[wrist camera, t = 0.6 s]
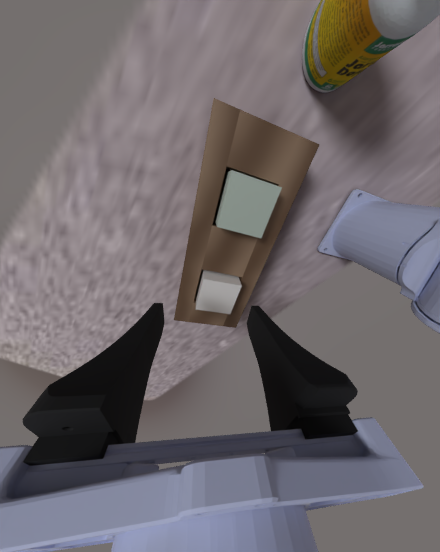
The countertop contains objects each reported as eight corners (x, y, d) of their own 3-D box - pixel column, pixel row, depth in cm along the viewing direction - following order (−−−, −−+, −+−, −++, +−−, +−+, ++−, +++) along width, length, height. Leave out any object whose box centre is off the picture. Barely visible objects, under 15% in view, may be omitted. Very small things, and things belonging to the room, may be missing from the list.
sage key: (268, 186, 15) (282, 187, 13) (252, 230, 18) (261, 238, 15) (226, 172, 15) (231, 170, 12) (214, 220, 17) (216, 226, 14)
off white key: (236, 272, 20) (241, 285, 18) (227, 299, 22) (230, 314, 20) (203, 266, 19) (203, 278, 17) (196, 294, 21) (195, 309, 19)
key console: (294, 152, 16) (319, 144, 13) (231, 309, 27) (235, 327, 23) (211, 118, 14) (213, 98, 11) (178, 301, 25) (173, 320, 21)
